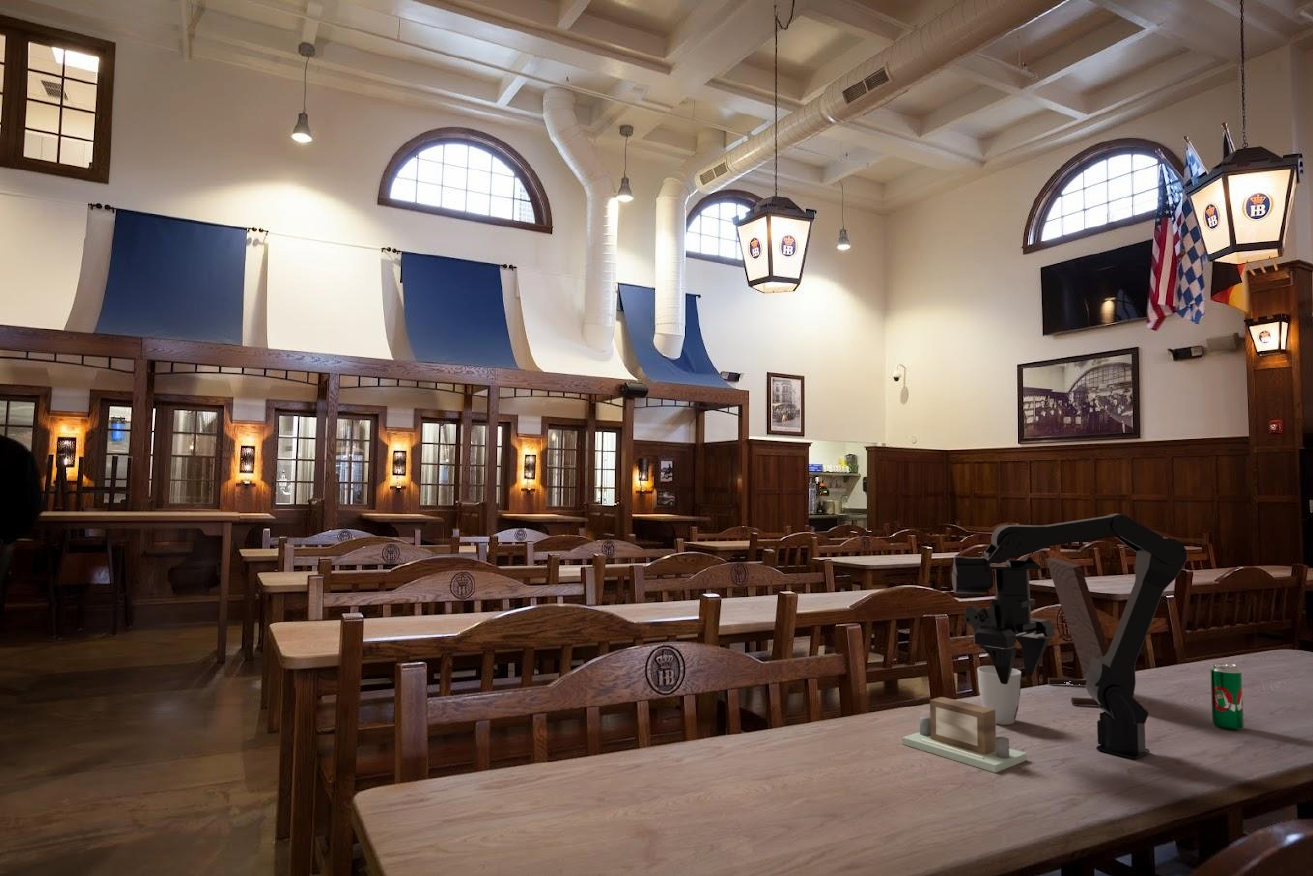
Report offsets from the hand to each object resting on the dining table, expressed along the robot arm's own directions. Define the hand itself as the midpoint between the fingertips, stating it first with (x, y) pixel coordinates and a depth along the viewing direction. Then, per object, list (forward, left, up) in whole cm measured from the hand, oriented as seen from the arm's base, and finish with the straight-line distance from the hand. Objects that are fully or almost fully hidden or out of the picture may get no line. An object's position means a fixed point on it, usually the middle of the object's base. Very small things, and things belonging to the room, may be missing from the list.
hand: (1017, 679), depth 145 cm
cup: (+10, -11, -12) cm, 19 cm away
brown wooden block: (+4, +12, -10) cm, 16 cm away
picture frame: (+9, -45, -12) cm, 47 cm away
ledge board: (+4, +12, -12) cm, 17 cm away
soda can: (-19, -43, -12) cm, 49 cm away
